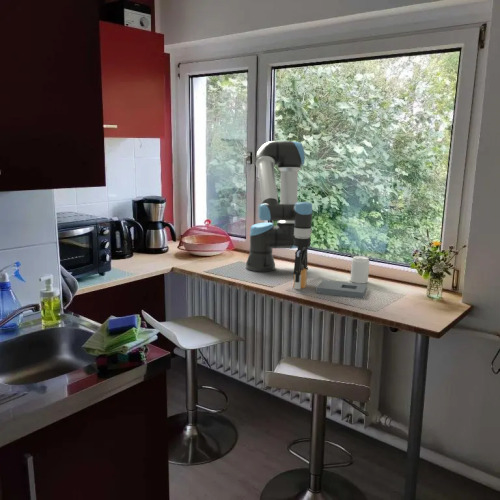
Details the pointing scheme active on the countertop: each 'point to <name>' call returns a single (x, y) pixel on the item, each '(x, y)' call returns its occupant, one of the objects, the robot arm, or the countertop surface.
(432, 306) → the countertop surface
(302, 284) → the orange bottle
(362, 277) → the beverage can
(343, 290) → the socket block
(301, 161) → the robot arm
